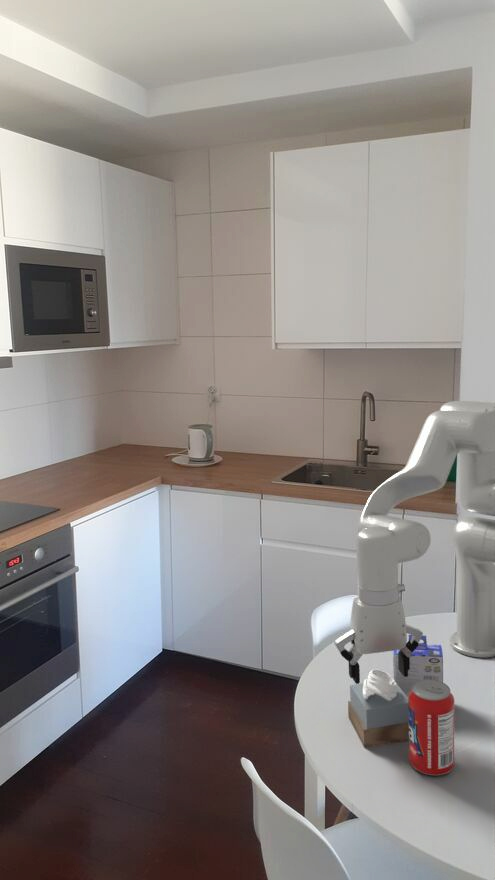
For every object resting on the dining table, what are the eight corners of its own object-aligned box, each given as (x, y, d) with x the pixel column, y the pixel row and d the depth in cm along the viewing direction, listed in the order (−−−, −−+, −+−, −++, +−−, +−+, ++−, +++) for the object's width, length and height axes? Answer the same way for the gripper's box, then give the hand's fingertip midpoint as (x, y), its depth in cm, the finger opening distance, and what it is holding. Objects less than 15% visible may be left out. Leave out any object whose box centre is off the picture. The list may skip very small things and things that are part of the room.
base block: (395, 712, 142) (395, 694, 142) (415, 741, 132) (414, 722, 132) (348, 719, 141) (348, 701, 140) (364, 749, 131) (363, 730, 130)
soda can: (448, 784, 120) (448, 704, 117) (403, 772, 124) (402, 694, 121) (458, 758, 126) (459, 682, 124) (415, 747, 130) (415, 673, 128)
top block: (393, 696, 141) (392, 678, 140) (411, 721, 132) (411, 702, 131) (350, 703, 139) (350, 685, 138) (366, 729, 130) (366, 709, 130)
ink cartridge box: (442, 698, 146) (442, 633, 143) (444, 713, 141) (444, 646, 138) (394, 695, 148) (393, 631, 145) (394, 709, 143) (393, 644, 140)
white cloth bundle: (360, 687, 139) (357, 664, 139) (394, 683, 139) (391, 660, 138) (365, 707, 131) (362, 682, 131) (401, 703, 131) (398, 678, 130)
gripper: (413, 580, 136) (414, 661, 140) (327, 590, 134) (330, 673, 137) (429, 595, 129) (430, 680, 132) (339, 606, 126) (342, 693, 130)
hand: (379, 676), depth 135 cm, fingers open, 9 cm apart
